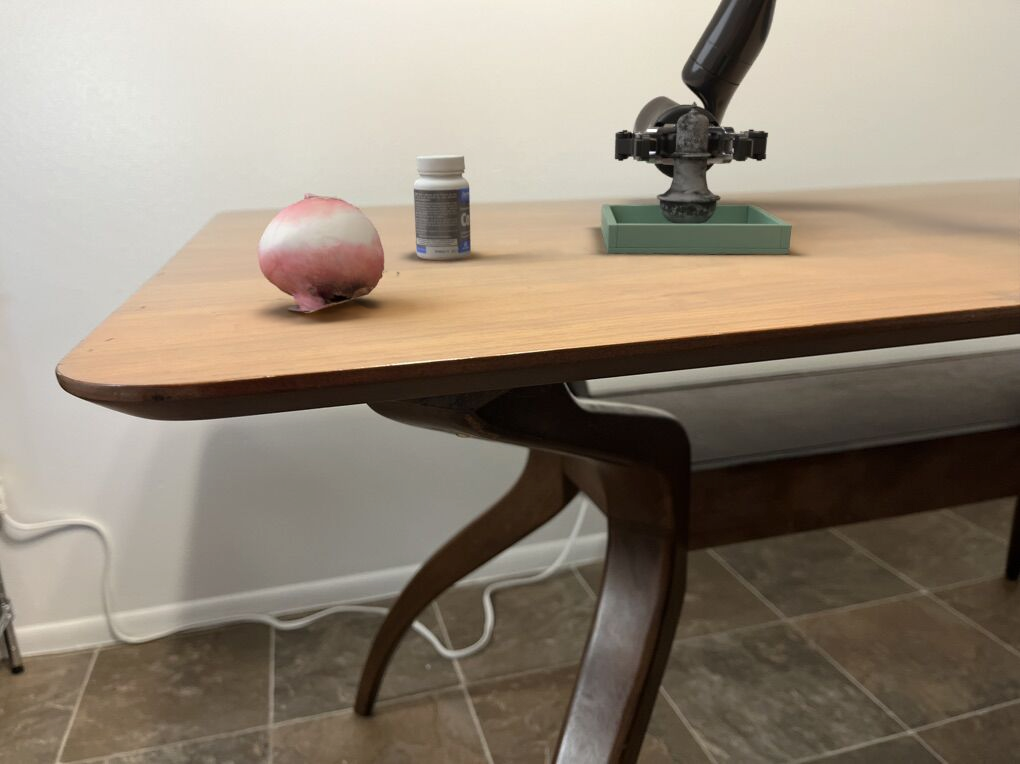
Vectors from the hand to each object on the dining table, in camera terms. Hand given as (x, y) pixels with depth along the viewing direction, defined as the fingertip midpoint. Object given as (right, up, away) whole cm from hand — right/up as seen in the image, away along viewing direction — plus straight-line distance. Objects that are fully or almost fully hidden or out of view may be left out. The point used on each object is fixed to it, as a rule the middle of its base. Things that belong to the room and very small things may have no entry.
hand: (694, 148), depth 73 cm
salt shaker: (0, -7, +5) cm, 8 cm away
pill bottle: (-22, -10, -2) cm, 25 cm away
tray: (0, -7, +5) cm, 9 cm away
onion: (-29, -16, -20) cm, 38 cm away
